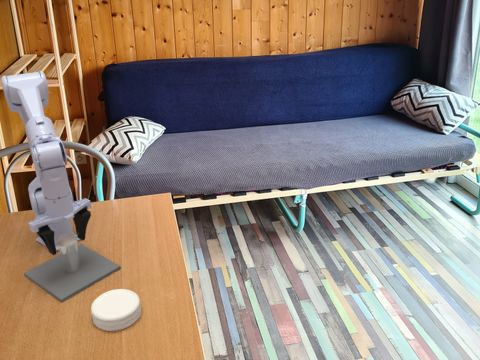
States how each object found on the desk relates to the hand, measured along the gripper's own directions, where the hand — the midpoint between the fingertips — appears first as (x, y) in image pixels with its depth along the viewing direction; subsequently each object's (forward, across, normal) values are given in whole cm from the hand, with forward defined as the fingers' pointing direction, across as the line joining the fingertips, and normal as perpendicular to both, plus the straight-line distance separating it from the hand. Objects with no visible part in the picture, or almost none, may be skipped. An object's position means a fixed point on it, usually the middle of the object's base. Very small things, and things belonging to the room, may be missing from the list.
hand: (67, 245), depth 118 cm
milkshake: (+7, 0, 0) cm, 7 cm away
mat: (+7, 0, 0) cm, 7 cm away
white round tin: (+8, -3, -21) cm, 23 cm away
